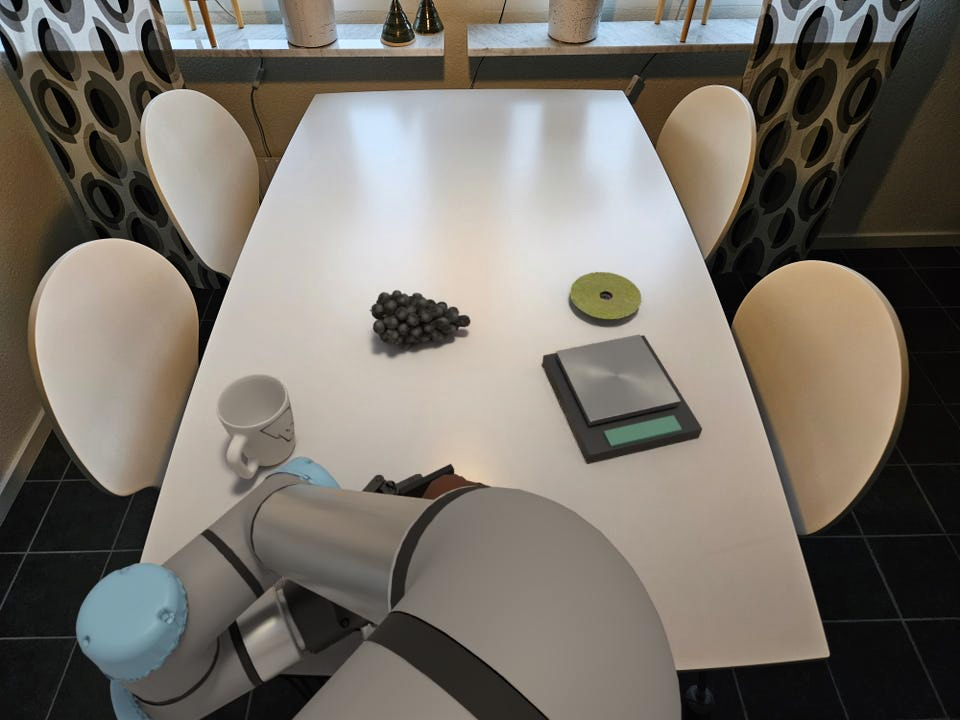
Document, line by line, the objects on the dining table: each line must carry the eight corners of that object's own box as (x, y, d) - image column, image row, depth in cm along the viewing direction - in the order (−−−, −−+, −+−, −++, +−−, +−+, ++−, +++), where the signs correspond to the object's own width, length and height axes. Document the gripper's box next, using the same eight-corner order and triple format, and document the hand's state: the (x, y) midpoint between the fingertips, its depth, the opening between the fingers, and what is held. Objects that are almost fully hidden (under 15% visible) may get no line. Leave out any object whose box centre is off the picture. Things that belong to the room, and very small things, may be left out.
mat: (573, 328, 100) (574, 319, 99) (565, 280, 108) (566, 271, 107) (645, 327, 101) (647, 318, 99) (632, 280, 108) (634, 271, 107)
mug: (278, 500, 80) (258, 454, 72) (215, 488, 81) (189, 442, 74) (313, 427, 87) (298, 378, 80) (255, 417, 88) (235, 368, 81)
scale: (699, 437, 86) (704, 426, 84) (587, 464, 84) (589, 452, 82) (641, 344, 98) (645, 331, 96) (542, 364, 95) (543, 352, 93)
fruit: (470, 278, 94) (366, 280, 93) (473, 329, 91) (365, 332, 90) (468, 307, 102) (372, 309, 101) (471, 355, 99) (372, 357, 98)
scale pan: (679, 405, 87) (681, 401, 86) (589, 425, 85) (590, 421, 84) (638, 338, 95) (639, 334, 95) (555, 355, 93) (556, 350, 92)
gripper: (262, 535, 72) (431, 455, 79) (350, 757, 58) (546, 634, 65) (245, 501, 67) (428, 418, 74) (336, 737, 52) (552, 604, 59)
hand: (483, 519), depth 69 cm, fingers open, 13 cm apart
